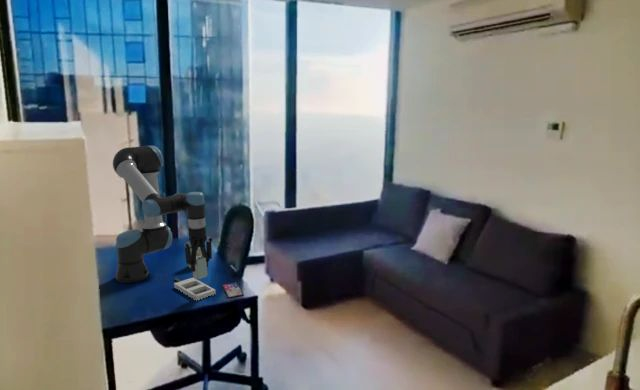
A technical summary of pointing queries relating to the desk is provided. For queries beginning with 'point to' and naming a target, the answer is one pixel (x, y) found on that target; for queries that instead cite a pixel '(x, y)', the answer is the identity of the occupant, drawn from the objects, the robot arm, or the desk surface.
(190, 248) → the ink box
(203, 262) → the block
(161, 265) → the desk surface
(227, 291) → the smartphone
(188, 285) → the white compartment tray
